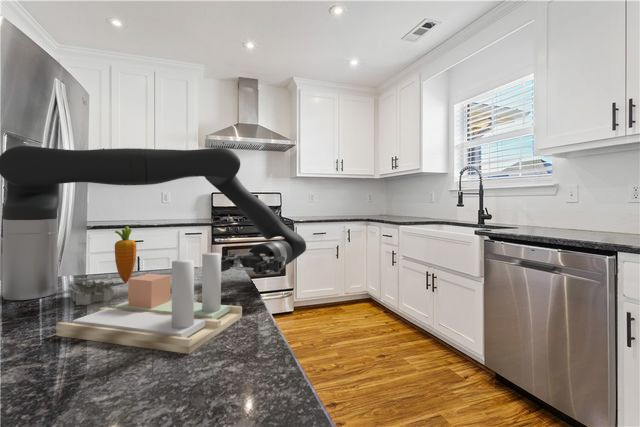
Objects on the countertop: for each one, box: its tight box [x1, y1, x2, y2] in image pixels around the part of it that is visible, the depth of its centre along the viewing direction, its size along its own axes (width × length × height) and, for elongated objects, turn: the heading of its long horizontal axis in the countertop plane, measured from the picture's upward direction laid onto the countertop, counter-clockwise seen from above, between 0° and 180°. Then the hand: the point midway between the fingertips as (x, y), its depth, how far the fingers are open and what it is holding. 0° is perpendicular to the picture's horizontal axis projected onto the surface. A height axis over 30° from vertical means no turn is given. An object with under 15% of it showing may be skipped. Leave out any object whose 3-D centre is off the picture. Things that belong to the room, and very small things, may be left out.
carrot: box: [114, 225, 137, 284], centre depth 87 cm, size 5×5×15 cm
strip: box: [72, 259, 205, 337], centre depth 53 cm, size 20×6×11 cm, turn 76°
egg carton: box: [68, 279, 115, 306], centre depth 73 cm, size 11×8×4 cm
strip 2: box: [114, 252, 231, 319], centre depth 61 cm, size 20×6×11 cm, turn 76°
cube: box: [127, 273, 171, 309], centre depth 62 cm, size 5×5×5 cm
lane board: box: [56, 301, 243, 355], centre depth 57 cm, size 24×16×2 cm, turn 76°
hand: (238, 268), depth 69 cm, fingers open, 8 cm apart
